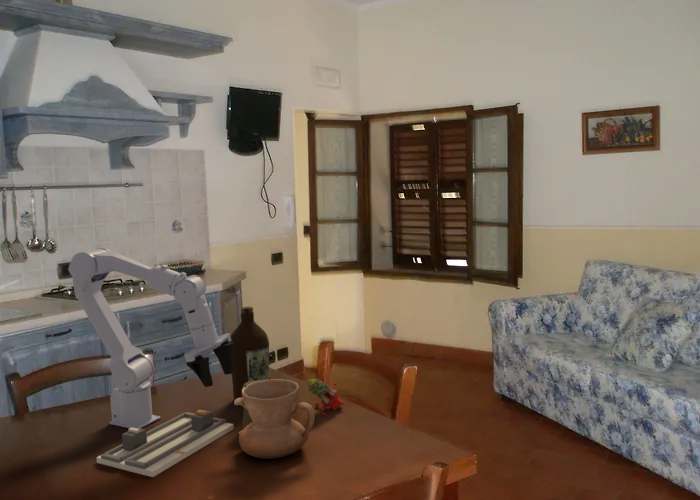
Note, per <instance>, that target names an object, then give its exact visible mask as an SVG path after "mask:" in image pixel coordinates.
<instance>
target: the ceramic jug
mask: <svg viewBox="0 0 700 500" xmlns="http://www.w3.org/2000/svg"><path fill="white" fill-rule="evenodd" d="M299 388H300V386H299V384H298V383H297V382H296V381H293V380H289V379H284V378H273V379H272V378H270V379H269V380H262V381H257V382H253V383H250V384H248V385H247V386H246V387H244V388H243V389H242V398H237V399H236V400H235V401H234V400H233V401H234V402H233V404H234V406H241V407H243V409H244V408H246V409H247V410H248V413H249V415H250V417H251V419H252V421H253V422H252V423H250V424H249V425H247V426H246V427H245V428H244V429H243V428H242V429H241V430H240V431H239V432H238V436H239V437H238V444H239V446H240V448H241V449H242V451H243V452H244V453H246V454H247V455H249V456H250V457H251V456H252V457H254V458H258V459H267V460H271V459H273V460H274V459H280V458H283V457H287V456H289V455H291V454H294V453H296V452H298V451H299V450H300V449H302V448H303V446H304V445H305V444H306V442H308V440H309V433H310V432H311V431H312V430H311V429H312V428H313V427H314V424H315V423H314V422H315V416H316V415H315V410H314V408H313V406H312V405H311V404H310V403H308V402H305V401H301V402H298V400H299V399H298V398H299V390H300V389H299ZM297 402H298V403H297ZM299 410H305V411H306V413H307V424H306V427H304V426H303V424H302V423H300V422H299V421H297V420H296V419H293V418H292V417H293V415H294V414H295V413H296V412H297V411H299Z"/></svg>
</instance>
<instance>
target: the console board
mask: <svg viewBox="0 0 700 500" xmlns="http://www.w3.org/2000/svg"><path fill="white" fill-rule="evenodd" d="M194 414H195V413H193V412H189V411H188V412H187V411H185V412H183V413H181V414H178V415H177V416H175V417H173V418H171V419H168V420H167V421H165V422H163V423H161V424H159V425H157V426H155V427H152V428H151V429H150V430H148V431H147V430H146V434H147V443H145V444H144V445H142V446H140V447H138V448H136V449H134V450H132V451H129V450H125V449H123V443H121V444H120V445H117V446H115V447H113V448H111V449H109V450H108V451H107V450H106V451H105V452H104V453H102V454H100V455H98V456H97V457H96V463H97V464H100V465H104V466H107V467H108V466H109V467H112V468H116V469H119V470H124V471H126V472H131V473H135V474H139V475H143V476H148V477H151V478H154V477H157V476H158V475H159V474H161V473H162V472H164V471H166V470H167V469H170V468H171V467H172V466H175V465H177V464H178V463H179V462H181V461H182V460H184V459H186V458H188V457H189V456H191V455H192V454H194V453H196V452H198V451H199V450H201V449H203V448H204V447H207V446H208V445H209V444H211V443H213V442H214V441H216V440H218V439H219V438H221V437H223V436H224V435H226V434H228V433H229V432H231V431H233V430H234V429H235V426H234V423H230V422H226V418H220V417H214V416H213V423H214V424H213V425H211V426H210V427H208V428H206V429H204V430H203V431H201V432H199V431H194V430H192V420H191V416H192V415H194Z"/></svg>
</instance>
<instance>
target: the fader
mask: <svg viewBox="0 0 700 500" xmlns="http://www.w3.org/2000/svg"><path fill="white" fill-rule="evenodd" d="M127 429H128V431H126V432H123V433H122V434H121V437H122V444H123V449H125V450H129V451H132V450H134V449H136V448H138V447H140V446H142V445H144V444H145V443H147V434H146V432H147V429H146V428H143V427H142V428H138V427H136V428H133V427H131V428H127Z"/></svg>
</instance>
